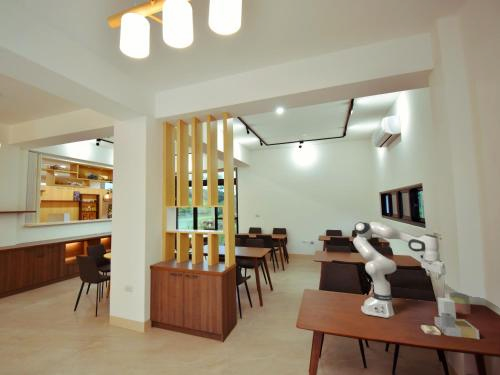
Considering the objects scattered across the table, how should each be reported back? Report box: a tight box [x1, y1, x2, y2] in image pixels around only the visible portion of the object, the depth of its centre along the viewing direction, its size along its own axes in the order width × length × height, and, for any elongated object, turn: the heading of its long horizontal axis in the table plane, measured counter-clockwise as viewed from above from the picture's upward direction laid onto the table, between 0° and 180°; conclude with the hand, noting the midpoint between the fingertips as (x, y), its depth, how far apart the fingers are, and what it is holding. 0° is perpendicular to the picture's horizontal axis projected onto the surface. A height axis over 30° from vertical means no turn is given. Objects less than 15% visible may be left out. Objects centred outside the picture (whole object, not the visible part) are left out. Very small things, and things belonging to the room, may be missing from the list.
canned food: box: [449, 291, 471, 315], centre depth 178 cm, size 11×11×12 cm
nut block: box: [441, 313, 455, 325], centre depth 151 cm, size 5×5×5 cm
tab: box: [420, 324, 442, 336], centre depth 150 cm, size 8×7×2 cm
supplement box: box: [437, 297, 457, 319], centre depth 169 cm, size 7×7×13 cm
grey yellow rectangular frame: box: [433, 316, 480, 340], centre depth 150 cm, size 17×14×5 cm
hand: (433, 277), depth 167 cm, fingers open, 8 cm apart
